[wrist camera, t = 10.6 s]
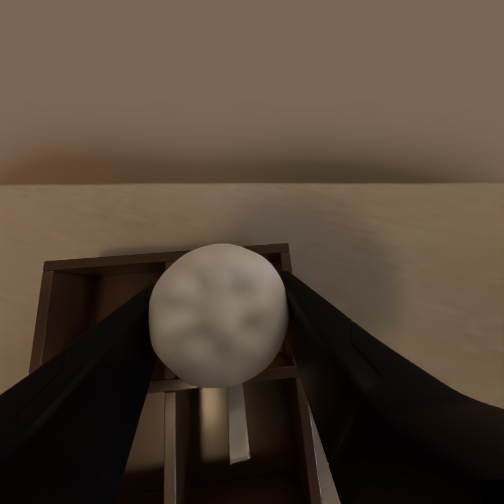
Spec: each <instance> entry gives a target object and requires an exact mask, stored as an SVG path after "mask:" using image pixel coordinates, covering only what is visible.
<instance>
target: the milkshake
mask: <svg viewBox="0 0 504 504" xmlns="http://www.w3.org/2000/svg"><path fill="white" fill-rule="evenodd" d="M288 322H289V307H288V301H287V296H286V291H285V288H284V285H283V282H282V280H281V278H280V276H279V274H278V273H277V271H276V270H275V268H274V267H273V266H272V265H271V263H270V262H269V261H268V260H267V259H265V258H264V257H263V256H261V255H259V254H257V253H255V252H253V251H251V250H248V249H246V248H243V247H240V246H237V245H233V244H226V243H223V244H213V245H208V246H204V247H200V248H197V249H195V250H193V251H190V252H188V253H187V254H185V255H183V256H182V257H181V258H179V259H178V260H177V261H176V262H174V263H173V264H172V265H171V266H170V267H169V268H168V269H167V270H166V271H165V272H164V273H163V275H162V276H161V277H160V279H159V280H158V281H157V283H156V285H155V287H154V289H153V291H152V294H151V298H150V302H149V332H150V339H151V344H152V347H153V349H154V351H155V353H156V354H157V356H158V357H159V358H160V360H161V361H162V362H163V363H164V364H165V365H166V366H167V367H168V368H169V369H170V370H171V371H172V372H173V373H174V374H176V375H177V376H178V377H179V378H180V379H182V380H183V381H185V382H187V383H189V384H191V385H193V386H197V387H201V388H225V387H227V401H228V446H229V463H230V465H234V464H238V463H241V462H244V461H247V460H249V459H250V444H249V435H248V426H247V417H246V409H245V400H244V391H243V382H245V381H248V380H250V379H251V378H253V377H255V376H256V375H258V374H259V373H261V372H262V371H263V370H264V369H266V368H267V367H268V366H269V364H270V363H271V362H272V361H273V359H274V358H275V357H276V355H277V353H278V352H279V350H280V348H281V346H282V343H283V341H284V338H285V335H286V332H287V328H288Z"/></svg>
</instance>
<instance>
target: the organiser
mask: <svg viewBox="0 0 504 504" xmlns="http://www.w3.org/2000/svg"><path fill="white" fill-rule="evenodd" d="M242 247H243V248H246V249H248V250H251V251H253V252H255V253H257V254H259V255H261V256H263V257H264V258H265V259H267V260H268V261H269V262H270V263H271V265H272V266H273V267H274V268H275V270H276V271H277V273H278V272H279V271H289V272H290V273H292V268H291V261H290V253H289V245H288V243H282V244H268V245H255V246H242ZM190 251H193V250H189V251H176V252H163V253H149V254H136V255H123V256H110V257H96V258H83V259H70V260H57V261H45V262H44V267H43V271H44V272H43V275H42V282H41V289H40V297H39V304H38V311H37V318H36V325H35V333H34V340H33V347H32V354H31V361H30V368H29V375H30V374H31V373H32V372H34V371H35V370H36V369H38V368H39V367H40V366H42V365H43V364H44V363H46V362H47V361H49V360H50V359H51V358H52V357H54V356H55V355H56V354H58V353H59V352H60V351H62V350H63V349H65V348H66V347H67V346H68V345H70V344H71V343H72V342H74V341H75V340H76V339H78V338H79V337H80V336H82V335H83V334H84V333H85V332H87V331H88V330H89V329H91V328H92V327H93V326H95V325H96V324H97V323H99V322H100V321H101V320H103V319H104V318H105V317H107V316H108V315H109V314H110V313H112V312H113V311H114V310H116V309H117V308H118V307H120V306H121V305H122V304H124V303H125V302H126V301H128V300H129V299H130V298H132V297H133V296H134V295H135V294H137V293H138V292H139V291H141V290H142V289H143V288H145V287H146V286H147V285H149V284H150V283H151V282H154V281H158V280H159V279H160V277H161V276H162V275H163V273H164V272H165V271H166V270H167V269H168V268H169V267H170V266H171V265H172V264H173V263H174V262H176V261H177V260H178V259H179V258H181V257H182V256H183V255H185V254H187V253H188V252H190ZM243 391H244V400H245V409H246V417H247V426H248V435H249V444H250V459H249V460H247V461H244V462H241V463H238V464H234V465H230V463H229V446H228V401H227V387H225V388H201V387H197V386H193V385H191V384H189V383H187V382H185V381H183V380H182V379H180V378H179V377H178V376H177V375H176V374H174V373H173V372H172V371H171V370H170V369H169V368H168V367H167V366H166V365H165V364H164V363H163V362H162V361H161V360H160V358H159V357H157V361H156V364H155V368H154V371H153V375H152V378H151V382H150V385H149V388H148V392H147V395H146V399H145V402H144V406H143V409H142V413H141V416H140V419H139V423H138V426H137V430H136V433H135V437H134V440H133V444H132V447H131V450H130V454H129V457H128V461H127V464H126V468H125V471H124V475H123V478H122V481H121V485H120V488H119V491H118V496H117V499H116V503H115V504H322V497H321V489H320V481H319V474H318V466H317V459H316V451H315V443H314V436H313V428H312V421H311V413H310V406H309V403H308V399H307V396H306V393H305V390H304V387H303V384H302V381H301V378H300V375H299V371H298V368H297V365H296V362H295V359H294V356H293V353H292V350H291V346H290V343H289V340H288V337H287V334H286V335H285V338H284V341H283V343H282V346H281V348H280V350H279V352H278V353H277V355H276V357H275V358H274V359H273V361H272V362H271V363H270V364H269V366H268V367H267V368H266V369H264V370H263V371H262V372H261V373H259V374H258V375H256V376H255V377H253V378H251V379H250V380H248V381H245V382H243Z"/></svg>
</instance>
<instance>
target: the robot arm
mask: <svg viewBox="0 0 504 504" xmlns="http://www.w3.org/2000/svg"><path fill="white" fill-rule="evenodd" d="M278 274H279V276H280V278H281V280H282V282H283V285H284V288H285V291H286V296H287V301H288V307H289V322H288V328H287V332H286V334H287V337H288V340H289V343H290V346H291V350H292V353H293V356H294V359H295V362H296V365H297V368H298V371H299V375H300V378H301V381H302V384H303V387H304V390H305V393H306V396H307V399H308V403H309V406H310V409H311V412H312V415H313V418H314V421H315V424H316V427H317V431H318V434H319V437H320V440H321V443H322V446H323V449H324V452H325V455H326V459H327V462H328V463H329V468H330V471H331V474H332V478H333V481H334V484H335V487H336V490H337V493H338V496H339V499H340V502H341V504H504V409H502V408H499V407H495V406H492V405H489V404H486V403H483V402H480V401H477V400H475V399H472V398H470V397H468V396H466V395H463V394H461V393H459V392H458V391H456V390H454V389H452V388H450V387H449V386H447V385H445V384H444V383H442V382H441V381H439V380H438V379H436V378H435V377H433V376H432V375H430V374H429V373H427V372H425V371H424V370H422V369H421V368H419V367H418V366H416V365H415V364H413V363H412V362H410V361H409V360H407V359H406V358H404V357H403V356H401V355H400V354H398V353H397V352H395V351H394V350H392V349H391V348H389V347H388V346H386V345H385V344H383V343H382V342H380V341H379V340H377V339H376V338H375V337H373V336H372V335H371V334H369V333H368V332H367V331H365V330H364V329H363V328H361V327H360V326H359V325H357V324H356V323H355V322H352V320H351V319H350V318H348V317H347V316H346V315H344V314H343V313H342V312H341V311H339V310H338V309H337V308H335V307H334V306H333V305H332V304H330V303H329V302H328V301H326V300H325V299H324V298H323V297H321V296H320V295H319V294H317V293H316V292H315V291H313V290H312V289H311V288H310V287H308V286H307V285H306V284H304V283H303V282H302V281H301V280H299V279H298V278H297V277H295V276H294V275H293V274H292V273H290V272H289V271H279V272H278ZM156 283H157V281H154V282H151V283H150V284H149V285H147V286H146V287H145V288H143V289H142V290H141V291H139V292H138V293H137V294H135V295H134V296H133V297H132V298H130V299H129V300H128V301H126V302H125V303H124V304H122V305H121V306H120V307H118V308H117V309H116V310H114V311H113V312H112V313H110V314H109V315H108V316H107V317H105V318H104V319H103V320H101V321H100V322H99V323H97V324H96V325H95V326H93V327H92V328H91V329H89V330H88V331H87V332H85V333H84V334H83V335H82V336H80V337H79V338H78V339H76V340H75V341H74V342H72V343H71V344H70V345H68V346H67V347H66V348H65V349H63V350H62V351H60V352H59V353H58V354H56V355H55V356H54V357H52V358H51V359H50V360H49V361H47V362H46V363H44V364H43V365H42V366H40V367H39V368H38V369H36V370H35V371H34V372H32V373H31V374H30V375H28V376H27V377H25V378H24V379H22V380H21V381H20V382H18V383H17V384H15V385H14V386H12V387H11V388H10V389H8V390H7V391H5V392H4V393H2V394H1V395H0V504H115V503H116V499H117V496H118V491H119V488H120V485H121V481H122V478H123V475H124V471H125V468H126V464H127V461H128V457H129V454H130V450H131V447H132V444H133V440H134V437H135V433H136V430H137V426H138V423H139V419H140V416H141V413H142V409H143V406H144V402H145V399H146V395H147V392H148V388H149V385H150V382H151V378H152V375H153V371H154V368H155V364H156V361H157V357H158V356H157V354H156V353H155V351H154V349H153V347H152V344H151V339H150V332H149V302H150V298H151V294H152V291H153V289H154V287H155V285H156Z"/></svg>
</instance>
